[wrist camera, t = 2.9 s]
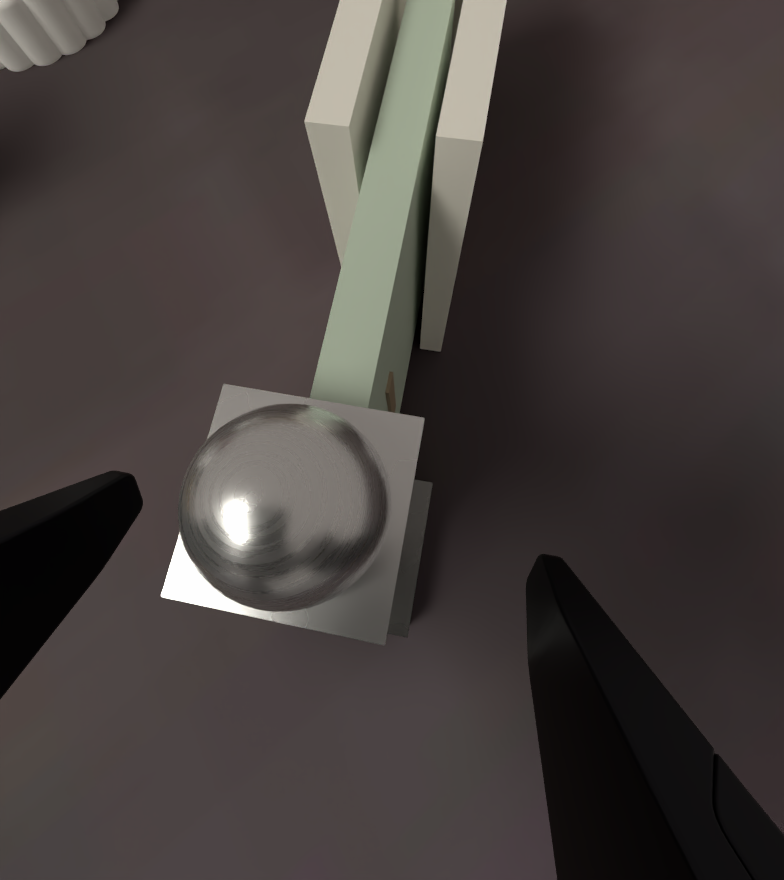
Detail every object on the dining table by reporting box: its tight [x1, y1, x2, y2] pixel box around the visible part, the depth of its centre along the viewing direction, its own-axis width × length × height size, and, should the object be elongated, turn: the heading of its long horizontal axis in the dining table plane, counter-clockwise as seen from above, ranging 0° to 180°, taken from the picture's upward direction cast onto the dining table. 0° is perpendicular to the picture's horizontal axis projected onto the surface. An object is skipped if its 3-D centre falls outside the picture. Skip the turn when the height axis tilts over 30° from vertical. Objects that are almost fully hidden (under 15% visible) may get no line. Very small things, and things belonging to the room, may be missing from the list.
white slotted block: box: [304, 0, 507, 352], centre depth 15 cm, size 17×4×10 cm, turn 170°
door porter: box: [161, 384, 433, 645], centre depth 10 cm, size 6×5×12 cm
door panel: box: [310, 0, 455, 413], centre depth 13 cm, size 12×1×9 cm, turn 170°
